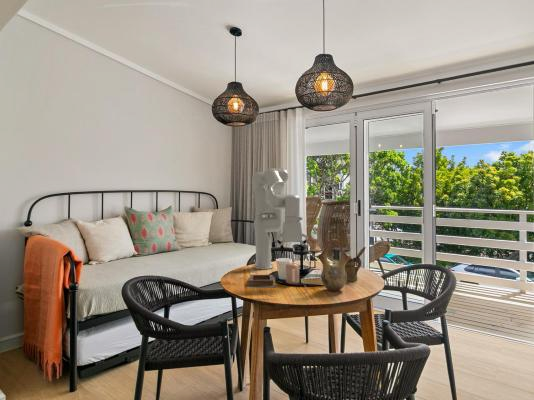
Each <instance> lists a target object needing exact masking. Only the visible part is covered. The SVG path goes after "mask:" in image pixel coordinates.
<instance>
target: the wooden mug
mask: <svg viewBox="0 0 534 400" xmlns="http://www.w3.org/2000/svg"><path fill="white" fill-rule="evenodd" d="M365 251H366V246H363V247H362V248H361V249H360V250H359V252H358V253H357V255H356V256H355V257H353V258H352V257H351V258H350V259H349V260H348V261H347V262H346V264H345V271H346V275H347V280H346V283H348V282H349V283H352V282H353V283H354V282H357V281H358V272H359V270H360V268H361V267H362V260H361V258H360V257H361V256H362V254H364V252H365ZM356 264H357V266H356Z"/></svg>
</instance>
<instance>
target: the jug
mask: <svg viewBox="0 0 534 400" xmlns="http://www.w3.org/2000/svg"><path fill="white" fill-rule="evenodd" d="M285 282H286V283H287V284H290V285H292V284H293V285H296V284H299V283H300V264H299V263H295V262H289V263H285Z"/></svg>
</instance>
